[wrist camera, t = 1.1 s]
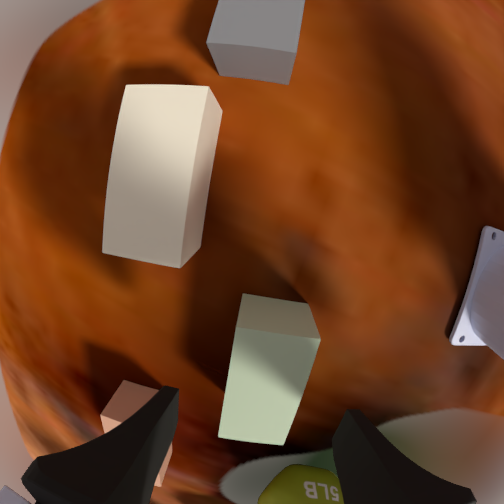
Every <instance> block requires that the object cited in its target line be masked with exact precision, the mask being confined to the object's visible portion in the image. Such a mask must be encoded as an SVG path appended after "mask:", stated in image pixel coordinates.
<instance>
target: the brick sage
mask: <svg viewBox="0 0 504 504" xmlns="http://www.w3.org/2000/svg"><path fill="white" fill-rule="evenodd" d="M320 340H321V338H320V335H319V333H318V330H317V327H316V324H315V321H314V319H313V316H312V313H311V310H310V308H309V305H308V304H307V303H300V302H294V301H287V300H281V299H274V298H268V297H262V296H256V295H250V294H244V293H243V294H242V299H241V304H240V310H239V315H238V320H237V325H236V331H235V337H234V343H233V349H232V355H231V361H230V367H229V373H228V379H227V385H226V391H225V397H224V403H223V409H222V415H221V421H220V428H219V434H218V437H221V438H227V439H233V440H240V441H247V442H255V443H264V444H275V445H283V444H284V442H285V440H286V437H287V435H288V432H289V430H290V427H291V424H292V422H293V419H294V417H295V414H296V411H297V409H298V406H299V403H300V400H301V398H302V395H303V392H304V389H305V386H306V383H307V380H308V377H309V374H310V371H311V368H312V365H313V362H314V359H315V356H316V353H317V350H318V346H319V343H320Z"/></svg>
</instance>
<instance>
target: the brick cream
mask: <svg viewBox="0 0 504 504" xmlns="http://www.w3.org/2000/svg"><path fill="white" fill-rule="evenodd" d="M222 112H223V111H222V109H221V108H220V106H219V104H218V102H217V100H216V99H215V97H214V95H213V93H212V91H211V90H210V88H209V87H208V86H193V85H166V84H140V85H126V87H125V91H124V95H123V100H122V104H121V108H120V113H119V117H118V122H117V127H116V132H115V138H114V143H113V149H112V155H111V162H110V169H109V176H108V184H107V193H106V202H105V214H104V227H103V246H102V253H106V254H110V255H115V256H120V257H125V258H130V259H134V260H139V261H144V262H149V263H154V264H159V265H165V266H170V267H175V268H181V267H182V266H183V265H184V264H185V263H186V262H187V261H188V260H189V259H190V258H191V257H192V256H193V255H194V254H195V253H196V252H197V251H198V250H199V249H200V248H201V240H202V233H203V225H204V218H205V211H206V205H207V198H208V192H209V185H210V179H211V173H212V167H213V161H214V155H215V150H216V144H217V138H218V133H219V128H220V122H221V117H222Z"/></svg>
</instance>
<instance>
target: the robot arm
mask: <svg viewBox="0 0 504 504" xmlns="http://www.w3.org/2000/svg"><path fill="white" fill-rule="evenodd" d="M492 234H493V237H492ZM461 336H462V337H461ZM460 337H461V338H460ZM449 341H450V343H451V344H452V345H487V346H489V347H490V348H491V349H492V350H493V351H494V352H496V353H497V354H498V355H499V356H500V357H501V358H503V359H504V232H503V231H501V230H498V229H496V228H493V227H491V226H485V227H484V228H483V230H482V233H481V238H480V242H479V247H478V251H477V255H476V259H475V263H474V267H473V270H472V274H471V277H470V281H469V284H468V287H467V290H466V294H465V297H464V300H463V303H462V306H461V308H460V311H459V314H458V317H457V319H456V322H455V325H454V327H453V330H452V332H451V335H450V338H449ZM178 400H179V389H178V388H174V387H169V386H163V387H162V388H161V389H160V390H159V391H158V392H157V393H156V394H155V395H154V396H153V397H152V398H151V399H150V400H149V401H148V402H147V403H146V404H145V405H143V406H142V407H141V408H140V409H139V410H138V411H136V412H135V413H134V414H133V415H132V416H130V417H129V418H128V419H126V420H125V421H124V422H122V423H121V424H119V425H118V426H116V427H115V428H113V429H112V430H110V431H108V432H107V433H105V434H103V435H101V436H100V437H98V438H96V439H93V440H91V441H89V442H87V443H85V444H82V445H80V446H77V447H74V448H71V449H68V450H65V451H62V452H58V453H54V454H49V455H44V456H39V457H37V458H36V459H35V460H34V461H33V462H32V463H31V465H30V466H29V467H28V469H27V470H26V472H25V473H24V475H23V476H22V478H21V480H22V483H23V485H24V486H25V488H26V489H27V490H28V491H29V492H30V494H31V495H32V496H33V497H34V498H35V500H36V503H35V504H149V502H150V498H151V494H152V491H153V487H154V484H155V481H156V478H157V476H158V473H159V471H160V469H161V466H162V464H163V462H164V459H165V457H166V455H167V452H168V450H169V447H170V445H171V443H172V440H173V437H174V433H175V430H176V426H177V422H178ZM332 445H333V456H334V461H335V466H336V469H337V474H338V478H339V482H340V487H341V491H342V495H343V501H344V504H476V502H477V501H476V499H475V497H474V495H473V493H472V491H471V489H469V488H466V487H462V486H459V485H456V484H453V483H451V482H448V481H446V480H444V479H441V478H439V477H437V476H435V475H433V474H431V473H430V472H428V471H426V470H425V469H423V468H421V467H420V466H418V465H417V464H415V463H414V462H413V461H411V460H410V459H409V458H407V457H406V456H405V455H404V454H402V453H401V452H400V451H399V450H398V449H397V448H396V447H395V446H393V444H391V443H390V442H389V441H388V440H387V439H386V438H385V437H384V436H383V435H382V433H381V432H380V431H379V430H378V429H377V428H376V427H375V426H374V425H373V424H372V423H371V421H370V420H369V419H368V418H367V417H366V416H365V415H364V414H363V413H362V412H361V411H360V410H355V409H347V410H346V412H345V415H344V417H343V419H342V421H341V423H340V425H339V426H338V428H337V430H336V432H335V434H334V436H333V438H332ZM0 504H31V503H30V502H29V501H27V500H26V499H25V498H23V497H22V496H20V495H19V494H17V493H16V492H14V491H13V490H12V489H10V488H9V487H7V486H4V487H3V488H2V490H1V491H0Z"/></svg>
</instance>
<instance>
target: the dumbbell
mask: <svg viewBox="0 0 504 504" xmlns="http://www.w3.org/2000/svg"><path fill="white" fill-rule="evenodd" d="M258 504H344V501H343V495H342V491H341V487H340V482H339V479H338V478H337V476H336V475H335V474H334V473H332V472H331V471H329V470H326V469H322V468H317V467H312V466H306V465H301V464H293V465H289V466H287V467H285V468H284V469H283V470H282V471H281V472H280V473H279V474H278V475H277V476H276V477H275V478H274V479H273V480H272V481H271V482H270V483H269V485H268V486H267V487H266V488H265V490H264V491H263V492H262V494H261V495H260V497H259V499H258Z"/></svg>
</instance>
